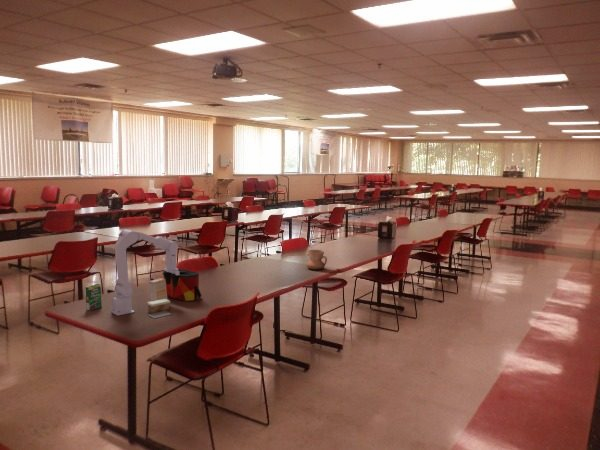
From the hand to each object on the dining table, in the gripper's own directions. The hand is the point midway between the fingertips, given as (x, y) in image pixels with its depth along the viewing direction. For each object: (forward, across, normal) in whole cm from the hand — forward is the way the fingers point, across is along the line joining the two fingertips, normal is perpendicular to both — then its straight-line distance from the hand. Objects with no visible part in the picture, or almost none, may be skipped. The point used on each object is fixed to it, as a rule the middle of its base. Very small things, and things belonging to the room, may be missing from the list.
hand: (171, 285), depth 270 cm
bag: (+11, +8, -10) cm, 17 cm away
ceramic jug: (+11, +10, -128) cm, 129 cm away
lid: (+6, -9, +13) cm, 17 cm away
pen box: (+10, -9, +13) cm, 19 cm away
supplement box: (+10, +4, +6) cm, 12 cm away
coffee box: (+10, +16, +38) cm, 42 cm away
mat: (+10, -16, +16) cm, 25 cm away
